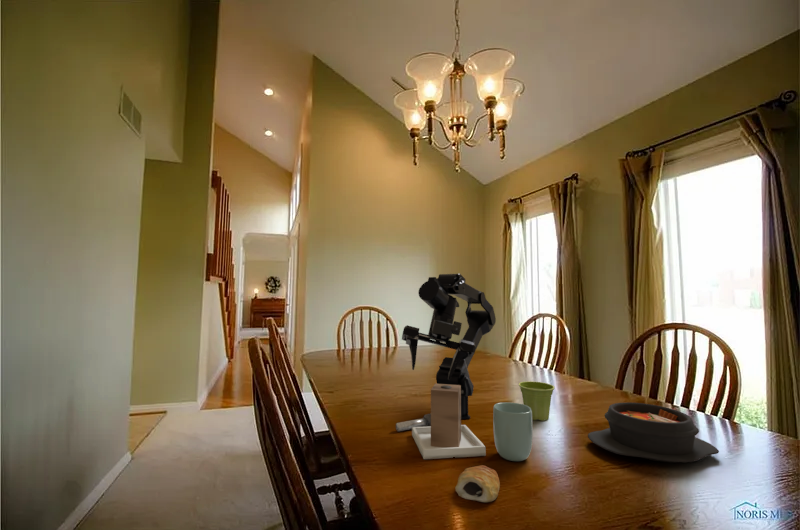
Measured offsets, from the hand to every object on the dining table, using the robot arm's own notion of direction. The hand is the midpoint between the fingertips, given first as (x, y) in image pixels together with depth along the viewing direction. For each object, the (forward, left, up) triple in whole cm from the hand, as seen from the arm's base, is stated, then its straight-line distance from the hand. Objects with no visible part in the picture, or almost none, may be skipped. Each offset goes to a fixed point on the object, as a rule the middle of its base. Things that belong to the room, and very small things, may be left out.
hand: (430, 374), depth 92 cm
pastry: (-2, +28, -14) cm, 32 cm away
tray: (-1, +9, -14) cm, 16 cm away
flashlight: (+4, -2, -14) cm, 14 cm away
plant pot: (-31, -6, -14) cm, 35 cm away
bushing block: (-1, +9, -13) cm, 16 cm away
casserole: (-44, +18, -14) cm, 50 cm away
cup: (-13, +17, -14) cm, 26 cm away
